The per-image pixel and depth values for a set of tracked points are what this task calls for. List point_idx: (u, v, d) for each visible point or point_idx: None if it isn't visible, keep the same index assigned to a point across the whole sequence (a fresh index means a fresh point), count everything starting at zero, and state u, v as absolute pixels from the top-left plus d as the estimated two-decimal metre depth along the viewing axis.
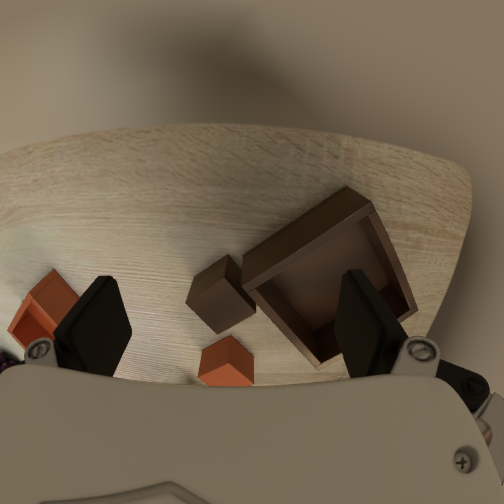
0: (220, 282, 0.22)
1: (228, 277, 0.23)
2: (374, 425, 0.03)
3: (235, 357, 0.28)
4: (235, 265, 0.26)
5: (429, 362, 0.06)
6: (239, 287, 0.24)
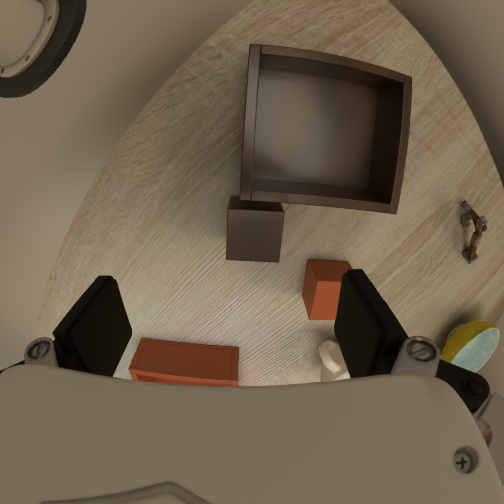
0: (230, 215, 0.21)
1: (234, 206, 0.22)
2: (374, 425, 0.03)
3: (324, 273, 0.25)
4: None
5: (429, 362, 0.06)
6: (252, 206, 0.22)
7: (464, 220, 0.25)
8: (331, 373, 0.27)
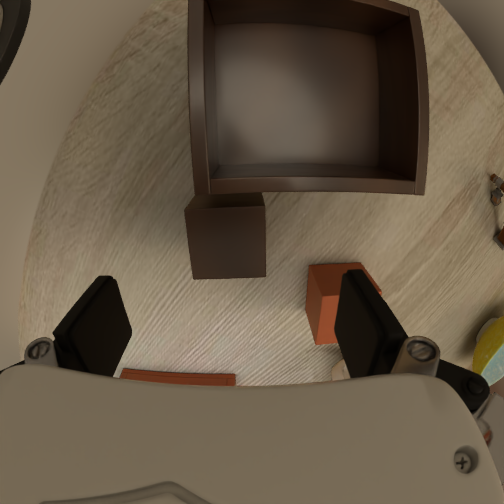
0: (188, 219, 0.15)
1: (195, 205, 0.15)
2: (374, 425, 0.03)
3: (330, 283, 0.19)
4: None
5: (429, 362, 0.06)
6: (220, 202, 0.16)
7: (495, 198, 0.18)
8: None
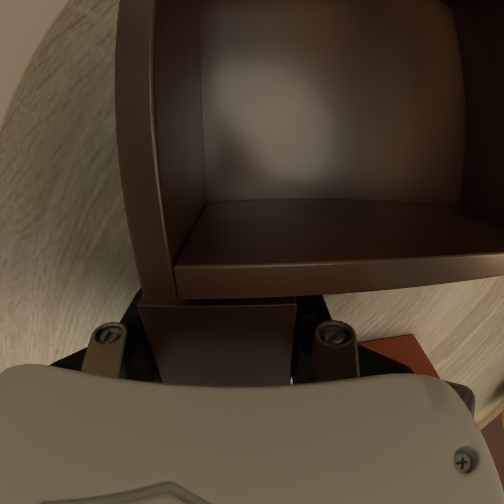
0: (147, 321, 0.07)
1: None
2: (374, 425, 0.03)
3: None
4: None
5: (347, 343, 0.07)
6: None
7: None
8: None
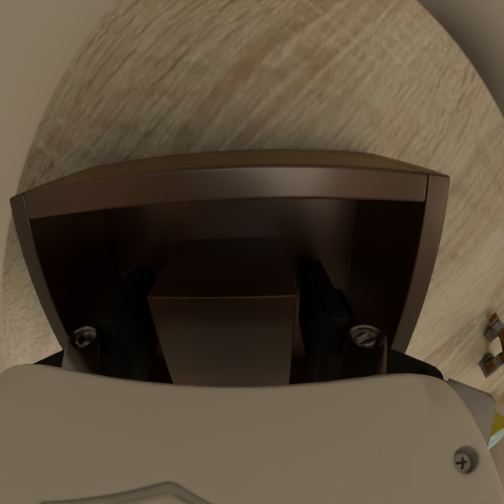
0: (156, 312, 0.08)
1: (167, 285, 0.08)
2: (374, 425, 0.03)
3: None
4: (203, 244, 0.11)
5: (377, 347, 0.06)
6: (213, 279, 0.09)
7: (489, 336, 0.15)
8: None
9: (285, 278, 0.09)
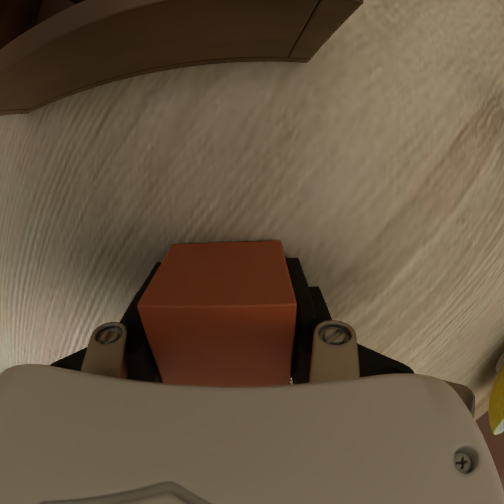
0: None
1: None
2: (374, 425, 0.03)
3: (181, 277, 0.09)
4: None
5: (347, 343, 0.07)
6: None
7: None
8: None
9: None
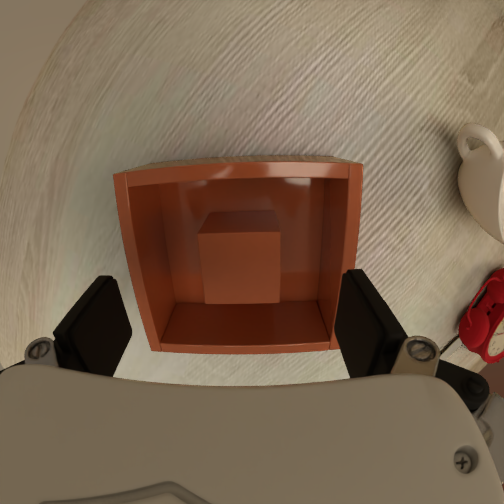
0: None
1: None
2: (374, 425, 0.03)
3: (218, 224, 0.16)
4: None
5: (429, 362, 0.06)
6: None
7: None
8: (495, 161, 0.11)
9: None
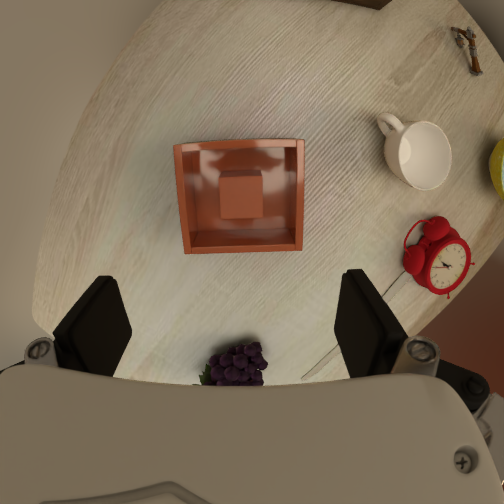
0: None
1: None
2: (374, 425, 0.03)
3: (229, 174, 0.28)
4: None
5: (429, 362, 0.06)
6: None
7: (458, 40, 0.21)
8: (398, 134, 0.24)
9: None
